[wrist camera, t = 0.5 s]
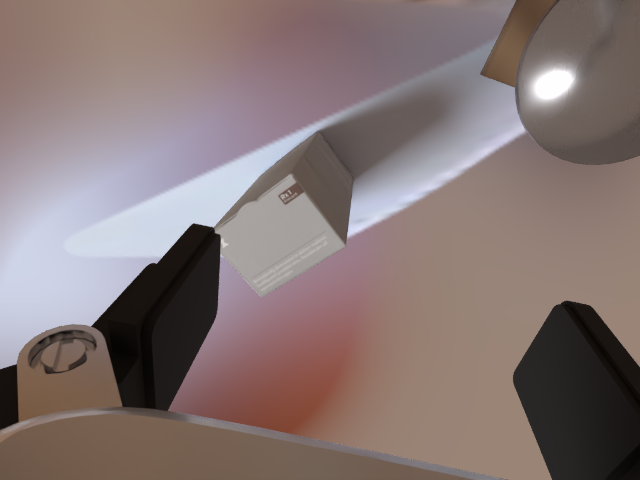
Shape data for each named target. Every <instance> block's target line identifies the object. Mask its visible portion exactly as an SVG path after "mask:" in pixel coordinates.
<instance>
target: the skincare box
mask: <svg viewBox="0 0 640 480" xmlns="http://www.w3.org/2000/svg"><path fill="white" fill-rule="evenodd" d="M353 180H354V179H353V177H352V176H351V174H350V173H349V172H348V170H347V169H346V168H345V166H344V165H343V164H342V162H341V161H340V160H339V158H338V157H337V156H336V154H335V153H334V152H333V150H332V149H331V147H330V146H329V145H328V143H327V142H326V141H325V139H324V138H323V136H322V135H321V134H320V132H319V131H317V132H316V133H314V134H313V135H311V136H310V137H309V138H307V139H306V140H305V141H303V142H302V143H301V144H299V145H298V146H297V147H295V148H294V149H293V150H292V151H290V152H289V153H288V154H287V155H285V156H284V157H283V158H282V159H280V160H279V161H278V162H277V163H275V164H274V165H273V166H272V167H270V168H269V169H268V170H267V171H265V172H264V173H263V174H262V175H261V176H260V177H259V178H258V179H257V180H256V181H255V182H254V184H253V185H252V186H251V187H250V188H249V189H248V190H247V191H246V192H245V193H244V195H243V196H242V197H241V198H240V199H239V200H238V201H237V202H236V203H235V204H234V206H233V207H232V208H231V209H230V210H229V211H228V212H227V213H226V214H225V216H224V217H223V218H222V219H221V220H220V221H219V222H218V223H217V224H216V226H215V227H214V229H215V233H217V234H220V235H221V249H220V254H221V255H222V256H223V257H224V258H225V259H226V260H227V261H228V262H229V263H230V264H231V265H232V266H233V267H234V268H235V269H236V271H237V272H239V274H240V275H241V276H242V277H243V278H244V279H245V281H246V282H247V283H248V284H249V285H250V286H251V287H252V288H253V289H254V290H255V291H256V292H257V293H258V294H259V295H260V296H261V297H264V296H265V295H267V294H268V293H270V292H272V291H274V290H275V289H277V288H279V287H280V286H282V285H284V284H285V283H287V282H289V281H291V280H292V279H294V278H296V277H297V276H299V275H301V274H302V273H304V272H306V271H307V270H309V269H311V268H312V267H314V266H315V265H317V264H319V263H320V262H322V261H323V260H325V259H326V258H328V257H330V256H331V255H333V254H335V253H336V252H338V251H340V250H341V249H343V248H344V247H346V240H347V232H348V224H349V215H350V206H351V198H352V188H353Z"/></svg>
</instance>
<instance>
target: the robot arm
mask: <svg viewBox="0 0 640 480" xmlns="http://www.w3.org/2000/svg"><path fill="white" fill-rule="evenodd" d="M220 249H221V235H220V234H217V233H215V229H214V228H213V227H208V226H204V225H199V224H192V225H191V226H190V227H189V228H188V229H187V230H186V231H185V233H184V234H183V235H182V236H181V237H180V238H179V239H178V240H177V242H176V243H175V244H174V245H173V246H172V247H171V248H170V250H169V251H168V252H167V253H166V254H165V255H164V256H163V257H162V259H161V260H160V261H159V262H158V263H157V264H155V263H151V264H149V265H148V266H147V267H146V268H145V269H144V270H143V271H142V272H141V273H140V274H139V275H138V276H137V277H136V278H135V279H134V280H133V282H132V283H131V284H130V285H129V286H128V287H127V288H126V289H125V290H124V291H123V292H122V294H121V295H120V296H119V297H118V298H117V299H116V300H115V301H114V302H113V303H112V304H111V305H110V307H109V308H108V309H107V310H106V311H105V312H104V313H103V314H102V315H101V316H100V317H99V319H98V320H97V321H96V322H95V323H94V324H93V325H92V326H91V327H90V326H86V325H73V324H72V325H66V326H59V327H56V328H53V329H50V330H47V331H45V332H43V333H41V334H39V335H38V336H36V337H34V338H33V339H32V340H31V341H29V342H28V343H27V344H26V345H25V346H24V347H23V349H22V350H21V352H20V353H19V356H18V360H17V364H16V365H13V366H9V367H6V368H3V369H0V480H506V479H502V478H497V477H493V476H487V475H483V474H479V473H474V472H469V471H464V470H460V469H455V468H450V467H446V466H441V465H436V464H431V463H427V462H422V461H417V460H412V459H408V458H403V457H398V456H394V455H389V454H384V453H380V452H374V451H370V450H365V449H360V448H356V447H351V446H346V445H341V444H336V443H331V442H326V441H322V440H317V439H312V438H307V437H302V436H297V435H292V434H288V433H283V432H278V431H273V430H268V429H264V428H258V427H254V426H248V425H243V424H238V423H232V422H226V421H221V420H216V419H211V418H206V417H200V416H195V415H190V414H184V413H177V412H170V411H168V409H169V407H170V405H171V403H172V401H173V399H174V397H175V395H176V394H177V391H178V390H179V388H180V386H181V384H182V382H183V380H184V378H185V376H186V374H187V372H188V371H189V369H190V367H191V365H192V363H193V361H194V359H195V357H196V355H197V353H198V351H199V349H200V347H201V345H202V344H203V342H204V340H205V338H206V336H207V334H208V332H209V330H210V328H211V326H212V324H213V323H214V320H215V318H216V314H217V307H218V289H219V287H218V286H219V269H220ZM513 382H514V386H515V388H516V391H517V393H518V396H519V398H520V401H521V403H522V406H523V408H524V410H525V413H526V415H527V418H528V421H529V423H530V426H531V428H532V431H533V433H534V435H535V438H536V440H537V443H538V445H539V448H540V450H541V453H542V455H543V458H544V460H545V463H546V465H547V468H548V470H549V473H550V475H551V478H552V480H640V367H639V366H638V365H637V363H636V362H635V361H634V359H633V358H632V357H631V356H630V354H629V353H628V352H627V351H626V349H625V348H624V347H623V346H622V344H621V343H620V342H619V341H618V339H617V338H616V337H615V335H614V334H613V333H612V332H611V330H610V329H609V328H608V327H607V325H606V324H605V323H604V321H603V320H602V319H601V318H600V316H599V315H598V314H597V313H596V311H595V310H594V309H593V308H592V307H591V306H589V305H586V304H581V303H576V302H571V301H564V302H562V303H561V304H559V305H556V306H554V308H553V309H552V311H551V312H550V314H549V316H548V317H547V319H546V321H545V322H544V324H543V326H542V327H541V329H540V331H539V332H538V334H537V335H536V337H535V339H534V340H533V342H532V343H531V345H530V347H529V348H528V350H527V352H526V353H525V355H524V357H523V358H522V360H521V361H520V363H519V365H518V366H517V368H516V370H515V372H514V375H513Z"/></svg>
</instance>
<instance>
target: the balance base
mask: <svg viewBox="0 0 640 480" xmlns="http://www.w3.org/2000/svg"><path fill="white" fill-rule="evenodd" d="M555 1H556V0H516V2H515V4H514V6H513V8H512V10H511V13H510V15H509V17H508V19H507V21H506V23H505V25H504V27H503V29H502V31H501V33H500V35H499V37H498V39H497V41H496V43H495V45H494V47H493V49H492V51H491V53H490V55H489V57H488V59H487V61H486V63H485V66H484V68H483V70H482V72H481V75H483V76H485V77H488V78H491V79H493V80H496V81H499V82H502V83H504V84H507V85H510V86H513V87H515V85H516V75H517V70H518V65H519V62H520V59H521V56H522V53H523V50H524V48H525V45H526V43H527V41H528V39H529V37H530V35H531V33H532V32H533V30H534V28H535V27H536V25H537V23H538V22H539V20H540V19H541V18H542V16H543V15H544V14H545V12H546V11H547V10H548V9H549V8H550V6H551V5H552V4H553V3H554V2H555Z"/></svg>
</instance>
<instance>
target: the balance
mask: <svg viewBox="0 0 640 480" xmlns="http://www.w3.org/2000/svg"><path fill="white" fill-rule="evenodd" d="M515 97H516V105H517V110H518V114H519V117H520V119H521V122H522V124H523V126H524V128H525V130H526V131H527V133H528V134H529V135H530V136H531V138H532V139H533V140H534V141H535V142H536V143H537V144H538V145H539V146H540V147H542V148H543V149H545V150H546V151H548V152H549V153H551V154H552V155H554V156H556V157H559V158H560V159H563V160H566V161H569V162H573V163H578V164H586V165H601V164H611V163H615V162H620V161H625V160H628V159H631V158H634V157H637V156H640V0H556V1H555V2H554V3H553V4H552V5H551V6H550V8H549V9H548V10H547V11H546V12H545V14H544V15H543V16H542V18H541V19H540V20H539V22H538V23H537V25H536V27H535V28H534V30H533V32H532V33H531V35H530V37H529V39H528V41H527V43H526V45H525V48H524V50H523V53H522V56H521V59H520V62H519V65H518V70H517V75H516V85H515Z"/></svg>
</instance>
